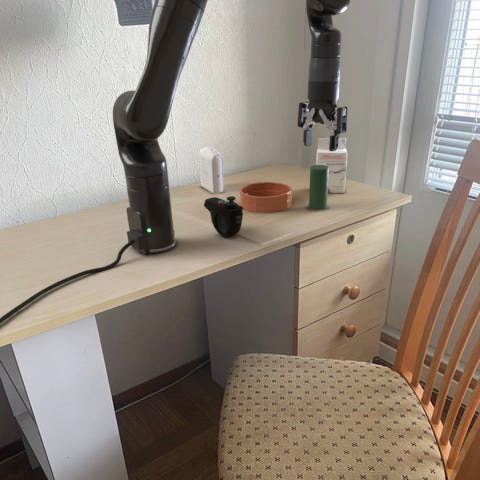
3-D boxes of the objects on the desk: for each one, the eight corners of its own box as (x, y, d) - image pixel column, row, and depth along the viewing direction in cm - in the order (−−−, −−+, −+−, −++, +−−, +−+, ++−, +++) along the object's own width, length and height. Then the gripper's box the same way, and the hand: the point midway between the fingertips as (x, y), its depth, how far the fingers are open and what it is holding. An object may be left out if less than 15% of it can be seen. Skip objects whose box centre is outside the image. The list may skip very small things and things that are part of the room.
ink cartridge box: (315, 193, 151) (317, 141, 143) (314, 188, 155) (316, 137, 148) (344, 193, 150) (348, 141, 142) (343, 188, 154) (347, 137, 147)
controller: (232, 244, 120) (230, 202, 115) (203, 229, 129) (200, 190, 123) (247, 239, 122) (245, 198, 117) (217, 225, 131) (215, 186, 126)
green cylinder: (318, 212, 137) (320, 170, 131) (305, 208, 140) (306, 167, 134) (330, 208, 139) (332, 167, 134) (317, 204, 143) (318, 163, 137)
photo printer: (226, 192, 155) (224, 149, 149) (213, 194, 153) (210, 152, 147) (211, 184, 163) (209, 143, 156) (199, 186, 161) (196, 145, 155)
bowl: (264, 217, 135) (264, 200, 132) (229, 205, 144) (229, 189, 142) (302, 205, 142) (302, 188, 140) (267, 194, 152) (267, 179, 150)
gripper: (291, 77, 126) (290, 146, 134) (336, 81, 116) (331, 155, 125) (312, 75, 130) (309, 141, 138) (357, 78, 121) (351, 150, 129)
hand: (320, 148), depth 131 cm, fingers open, 8 cm apart
